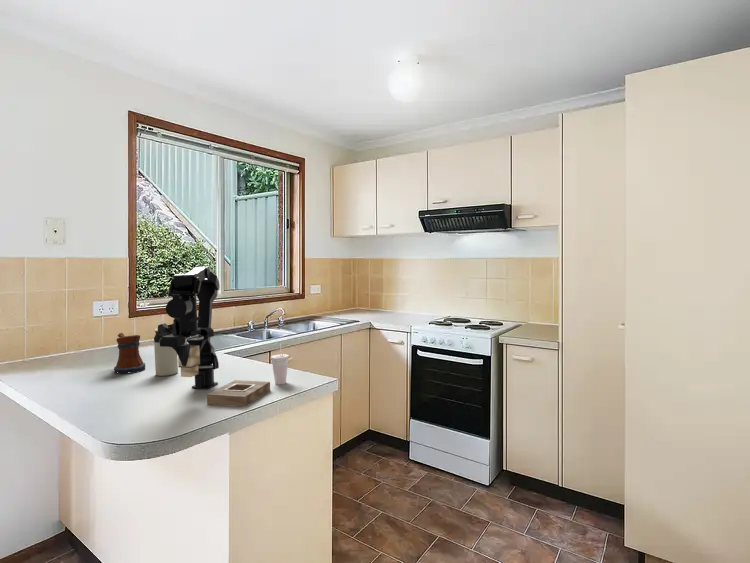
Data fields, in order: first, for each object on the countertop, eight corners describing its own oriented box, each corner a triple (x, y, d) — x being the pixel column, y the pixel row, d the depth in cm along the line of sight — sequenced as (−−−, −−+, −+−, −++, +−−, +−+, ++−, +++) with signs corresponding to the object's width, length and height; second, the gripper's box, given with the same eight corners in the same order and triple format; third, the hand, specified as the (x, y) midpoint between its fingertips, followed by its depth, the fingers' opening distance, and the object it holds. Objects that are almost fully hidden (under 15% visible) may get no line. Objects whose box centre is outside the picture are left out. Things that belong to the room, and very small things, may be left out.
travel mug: (172, 376, 166) (170, 330, 166) (151, 376, 166) (149, 330, 166) (181, 371, 174) (179, 326, 174) (161, 371, 174) (159, 327, 174)
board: (235, 388, 148) (235, 379, 148) (270, 390, 145) (269, 381, 145) (207, 404, 132) (206, 393, 132) (245, 406, 130) (245, 395, 129)
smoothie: (293, 382, 155) (292, 343, 154) (280, 386, 149) (278, 346, 149) (281, 379, 158) (279, 341, 158) (267, 383, 153) (266, 344, 152)
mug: (107, 368, 182) (105, 333, 181) (137, 363, 190) (135, 329, 189) (117, 376, 169) (115, 338, 168) (149, 370, 177) (147, 334, 176)
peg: (188, 373, 137) (187, 345, 137) (200, 373, 136) (199, 345, 136) (178, 376, 133) (177, 348, 132) (191, 377, 132) (190, 348, 131)
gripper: (184, 310, 145) (186, 356, 145) (142, 318, 126) (144, 370, 127) (213, 310, 142) (215, 357, 143) (175, 318, 124) (177, 372, 125)
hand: (189, 364), depth 134 cm, fingers closed on peg, 4 cm apart
